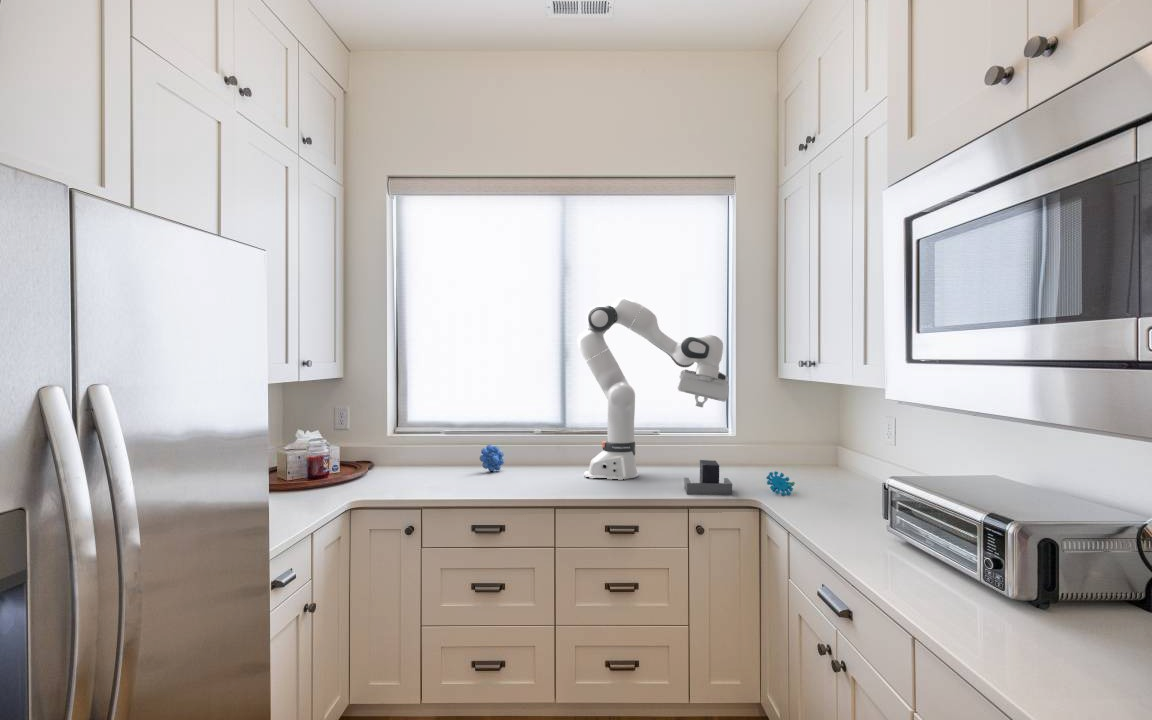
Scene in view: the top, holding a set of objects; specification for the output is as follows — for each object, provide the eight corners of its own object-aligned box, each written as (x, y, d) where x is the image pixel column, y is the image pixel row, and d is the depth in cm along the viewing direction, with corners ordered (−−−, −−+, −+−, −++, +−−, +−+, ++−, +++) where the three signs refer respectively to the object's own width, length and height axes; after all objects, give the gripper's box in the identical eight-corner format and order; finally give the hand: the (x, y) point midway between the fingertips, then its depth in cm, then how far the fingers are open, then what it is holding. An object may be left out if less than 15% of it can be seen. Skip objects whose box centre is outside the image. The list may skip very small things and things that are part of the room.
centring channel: (687, 494, 213) (686, 483, 213) (684, 488, 223) (684, 477, 223) (732, 494, 212) (732, 483, 212) (727, 488, 222) (727, 478, 222)
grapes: (484, 475, 250) (484, 446, 250) (477, 472, 255) (477, 444, 255) (508, 471, 256) (508, 444, 256) (501, 469, 262) (501, 442, 262)
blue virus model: (772, 492, 208) (764, 468, 215) (764, 501, 212) (757, 478, 219) (800, 495, 210) (791, 471, 217) (792, 504, 214) (784, 480, 221)
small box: (720, 494, 213) (720, 464, 213) (701, 493, 214) (701, 464, 214) (716, 487, 224) (716, 459, 224) (699, 487, 225) (698, 459, 225)
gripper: (681, 366, 241) (674, 398, 238) (732, 378, 238) (725, 411, 234) (680, 370, 247) (673, 401, 244) (730, 382, 244) (723, 414, 240)
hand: (699, 406), depth 239 cm, fingers closed
